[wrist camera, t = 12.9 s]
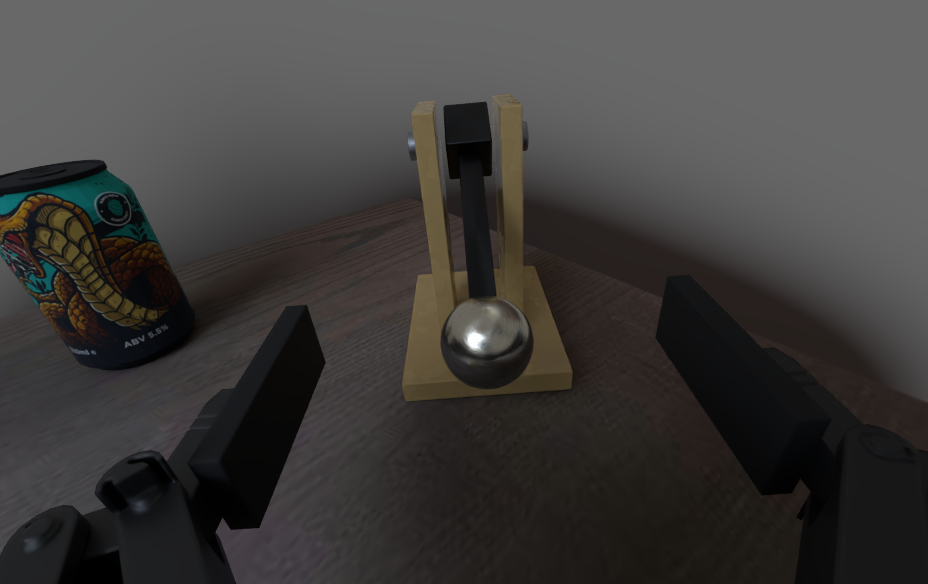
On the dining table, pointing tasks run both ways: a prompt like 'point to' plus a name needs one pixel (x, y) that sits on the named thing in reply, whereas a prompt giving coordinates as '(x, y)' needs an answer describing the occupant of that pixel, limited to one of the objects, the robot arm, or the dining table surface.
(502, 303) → the switch lever
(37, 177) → the beverage can
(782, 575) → the dining table surface
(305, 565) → the dining table surface
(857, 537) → the robot arm
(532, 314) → the switch bracket
